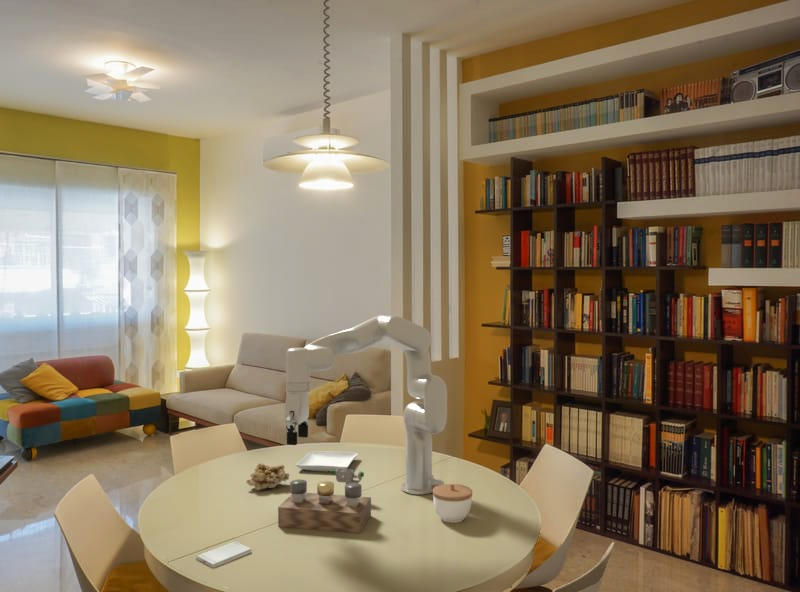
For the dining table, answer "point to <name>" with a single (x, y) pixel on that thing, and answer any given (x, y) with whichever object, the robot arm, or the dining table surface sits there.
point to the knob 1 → (298, 490)
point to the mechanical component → (348, 476)
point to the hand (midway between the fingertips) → (297, 440)
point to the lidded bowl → (452, 502)
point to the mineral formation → (267, 476)
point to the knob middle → (325, 492)
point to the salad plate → (326, 460)
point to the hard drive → (223, 554)
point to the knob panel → (325, 514)
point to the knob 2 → (353, 494)
